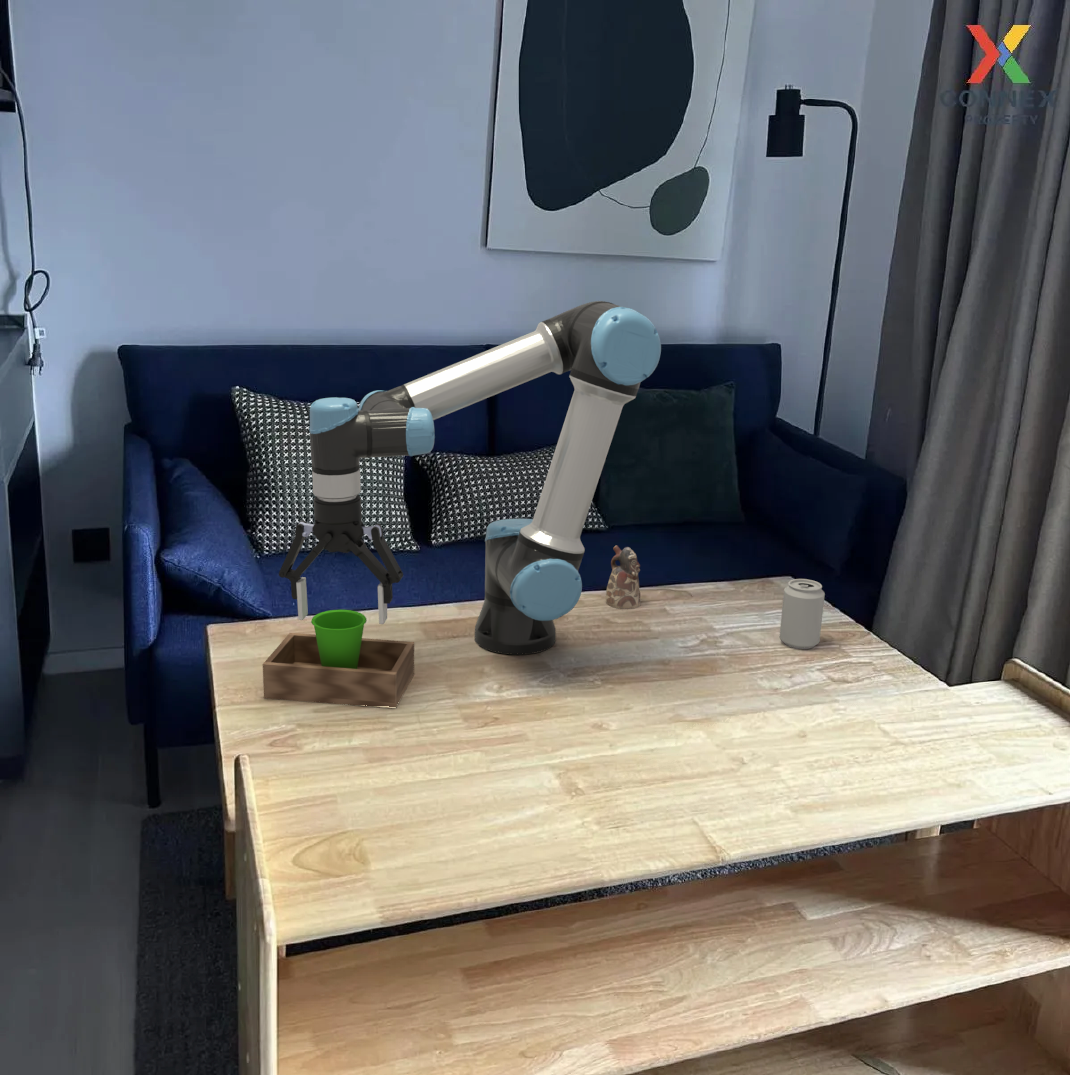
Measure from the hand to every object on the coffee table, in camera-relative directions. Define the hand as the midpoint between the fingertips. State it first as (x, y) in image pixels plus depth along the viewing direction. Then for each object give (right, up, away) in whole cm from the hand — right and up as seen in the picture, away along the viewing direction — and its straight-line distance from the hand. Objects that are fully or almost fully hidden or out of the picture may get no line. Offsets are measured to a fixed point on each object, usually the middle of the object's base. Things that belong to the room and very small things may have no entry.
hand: (343, 619), depth 196 cm
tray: (-1, -11, +3) cm, 12 cm away
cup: (-1, -11, +3) cm, 11 cm away
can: (+82, -7, +28) cm, 87 cm away
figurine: (+50, 0, +46) cm, 68 cm away
